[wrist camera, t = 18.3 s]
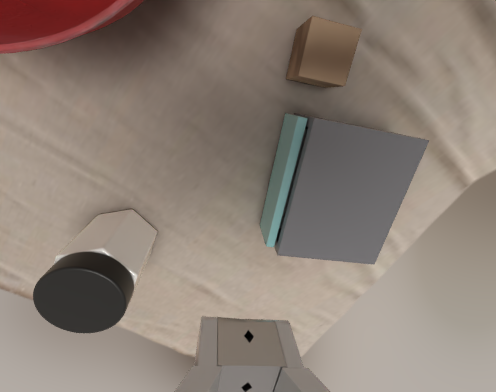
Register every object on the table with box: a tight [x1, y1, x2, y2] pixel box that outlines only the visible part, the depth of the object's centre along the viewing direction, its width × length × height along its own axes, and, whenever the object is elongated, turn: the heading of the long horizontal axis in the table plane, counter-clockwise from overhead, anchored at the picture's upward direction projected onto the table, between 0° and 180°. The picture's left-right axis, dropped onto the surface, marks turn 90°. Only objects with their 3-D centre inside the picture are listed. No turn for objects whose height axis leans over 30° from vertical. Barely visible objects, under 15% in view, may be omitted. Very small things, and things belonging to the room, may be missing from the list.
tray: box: [260, 113, 308, 247], centre depth 31 cm, size 16×13×5 cm
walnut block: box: [286, 16, 362, 88], centre depth 26 cm, size 5×5×5 cm
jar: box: [33, 209, 157, 333], centre depth 29 cm, size 9×8×12 cm
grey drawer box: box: [274, 113, 429, 264], centre depth 31 cm, size 16×13×7 cm
